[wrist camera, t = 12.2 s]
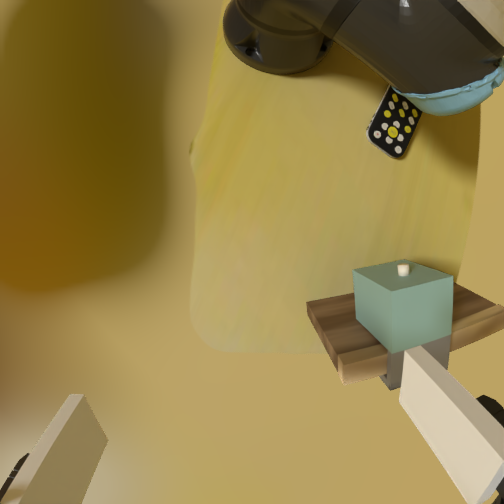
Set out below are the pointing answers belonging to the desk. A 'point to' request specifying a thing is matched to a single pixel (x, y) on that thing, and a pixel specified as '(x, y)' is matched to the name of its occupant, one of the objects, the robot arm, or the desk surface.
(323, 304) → the wall board
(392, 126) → the remote control
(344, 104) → the desk surface
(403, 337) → the cabinet
